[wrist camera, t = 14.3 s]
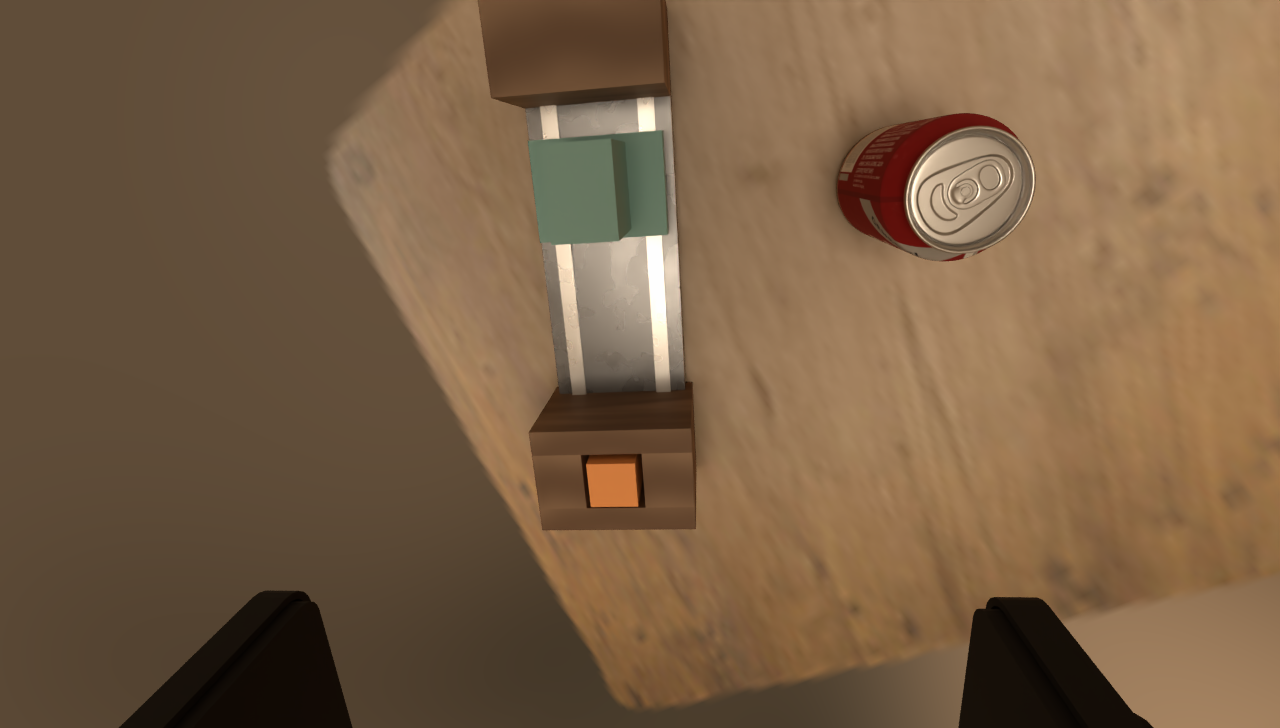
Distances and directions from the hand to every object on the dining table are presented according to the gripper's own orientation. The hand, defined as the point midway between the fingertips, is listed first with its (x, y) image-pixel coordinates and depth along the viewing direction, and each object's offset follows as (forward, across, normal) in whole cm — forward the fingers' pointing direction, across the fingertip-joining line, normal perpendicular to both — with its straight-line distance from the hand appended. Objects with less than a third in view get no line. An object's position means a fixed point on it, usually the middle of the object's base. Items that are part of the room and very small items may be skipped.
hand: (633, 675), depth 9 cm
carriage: (+32, +5, -6) cm, 33 cm away
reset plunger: (+34, +5, +12) cm, 36 cm away
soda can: (+34, -13, -5) cm, 37 cm away
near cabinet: (+34, +5, -13) cm, 37 cm away
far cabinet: (+34, +5, +12) cm, 37 cm away
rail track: (+34, +5, -2) cm, 35 cm away
